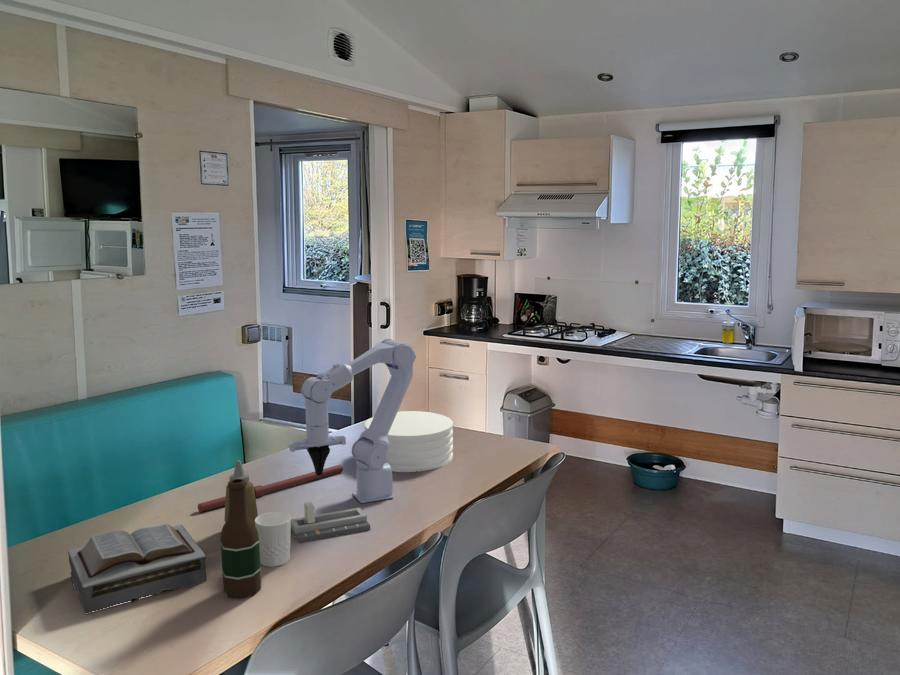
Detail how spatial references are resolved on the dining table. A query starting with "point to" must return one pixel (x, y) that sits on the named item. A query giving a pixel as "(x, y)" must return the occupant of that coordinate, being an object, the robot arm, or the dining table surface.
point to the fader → (309, 514)
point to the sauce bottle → (240, 547)
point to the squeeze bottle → (249, 490)
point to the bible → (135, 565)
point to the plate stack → (419, 441)
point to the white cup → (274, 538)
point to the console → (330, 525)
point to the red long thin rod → (274, 487)
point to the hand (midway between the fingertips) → (318, 473)
